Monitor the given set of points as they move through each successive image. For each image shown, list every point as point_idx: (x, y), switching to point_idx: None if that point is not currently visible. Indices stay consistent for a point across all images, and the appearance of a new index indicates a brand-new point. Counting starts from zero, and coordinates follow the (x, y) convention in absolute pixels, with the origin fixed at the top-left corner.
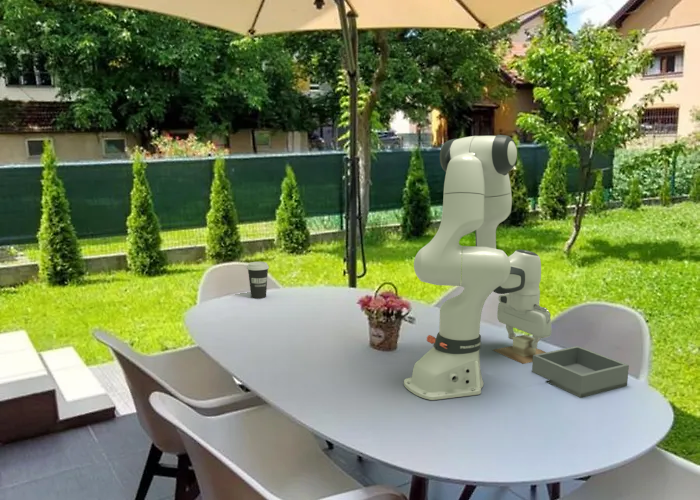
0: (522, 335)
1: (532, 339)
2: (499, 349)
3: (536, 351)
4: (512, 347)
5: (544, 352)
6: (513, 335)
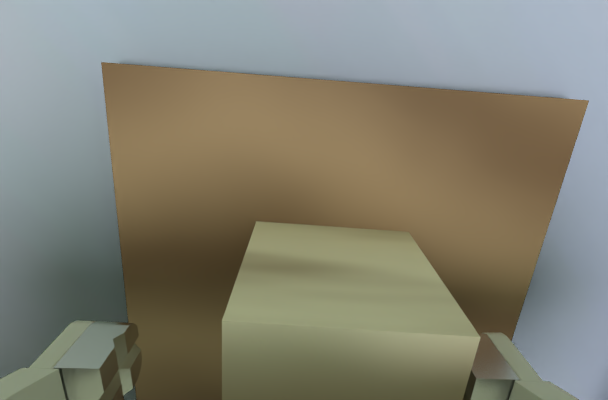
0: (233, 376)
1: (449, 389)
2: (155, 384)
3: (360, 162)
4: (157, 268)
5: (429, 113)
6: (111, 381)
